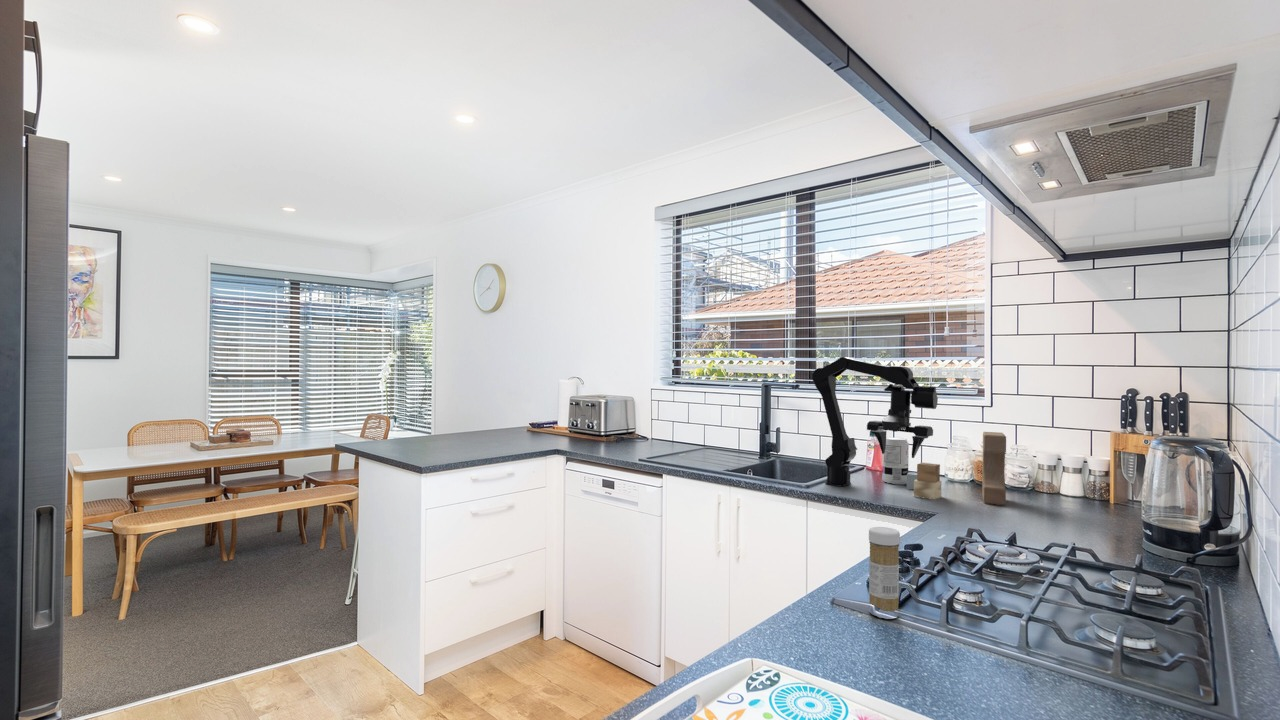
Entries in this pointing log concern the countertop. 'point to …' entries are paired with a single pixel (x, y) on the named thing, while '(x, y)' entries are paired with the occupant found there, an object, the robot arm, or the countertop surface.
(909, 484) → the slate cube
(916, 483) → the maple block
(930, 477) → the walnut cube
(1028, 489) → the countertop surface
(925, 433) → the robot arm
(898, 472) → the supplement can
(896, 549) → the sprinkles bottle
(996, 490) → the decorative block
